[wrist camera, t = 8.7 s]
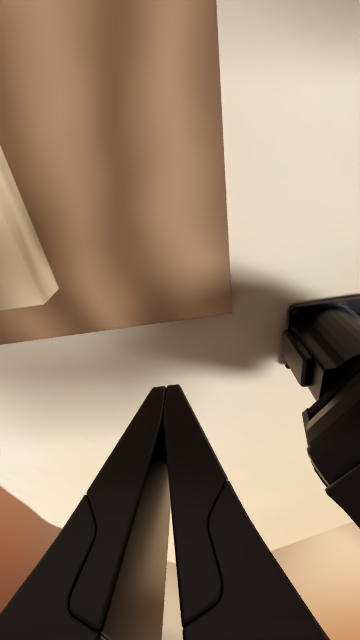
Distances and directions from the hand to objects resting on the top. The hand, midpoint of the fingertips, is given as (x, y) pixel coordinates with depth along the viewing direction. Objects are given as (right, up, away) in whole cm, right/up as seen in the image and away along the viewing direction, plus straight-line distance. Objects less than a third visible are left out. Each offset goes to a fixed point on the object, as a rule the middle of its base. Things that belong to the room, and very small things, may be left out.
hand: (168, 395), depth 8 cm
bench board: (-9, +10, +9) cm, 16 cm away
